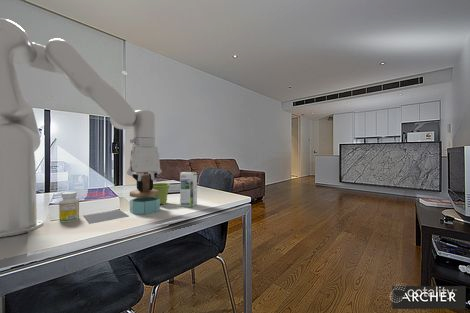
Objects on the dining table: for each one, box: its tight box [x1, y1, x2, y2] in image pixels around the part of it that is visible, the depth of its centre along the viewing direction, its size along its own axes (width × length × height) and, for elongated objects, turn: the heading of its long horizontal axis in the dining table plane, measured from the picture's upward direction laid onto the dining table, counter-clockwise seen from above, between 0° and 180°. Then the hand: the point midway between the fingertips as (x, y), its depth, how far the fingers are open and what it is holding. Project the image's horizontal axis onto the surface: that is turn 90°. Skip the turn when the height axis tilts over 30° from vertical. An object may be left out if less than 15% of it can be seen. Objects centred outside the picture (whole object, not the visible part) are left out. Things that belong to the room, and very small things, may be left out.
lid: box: [129, 173, 159, 198], centre depth 86 cm, size 10×10×8 cm
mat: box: [82, 209, 130, 225], centre depth 79 cm, size 12×12×1 cm
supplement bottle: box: [58, 191, 80, 223], centre depth 75 cm, size 5×5×10 cm
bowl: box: [129, 197, 161, 215], centre depth 86 cm, size 10×10×5 cm
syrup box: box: [179, 171, 198, 208], centre depth 96 cm, size 6×6×14 cm
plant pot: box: [152, 182, 171, 205], centre depth 100 cm, size 9×9×9 cm
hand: (145, 190), depth 86 cm, fingers closed on lid, 3 cm apart
